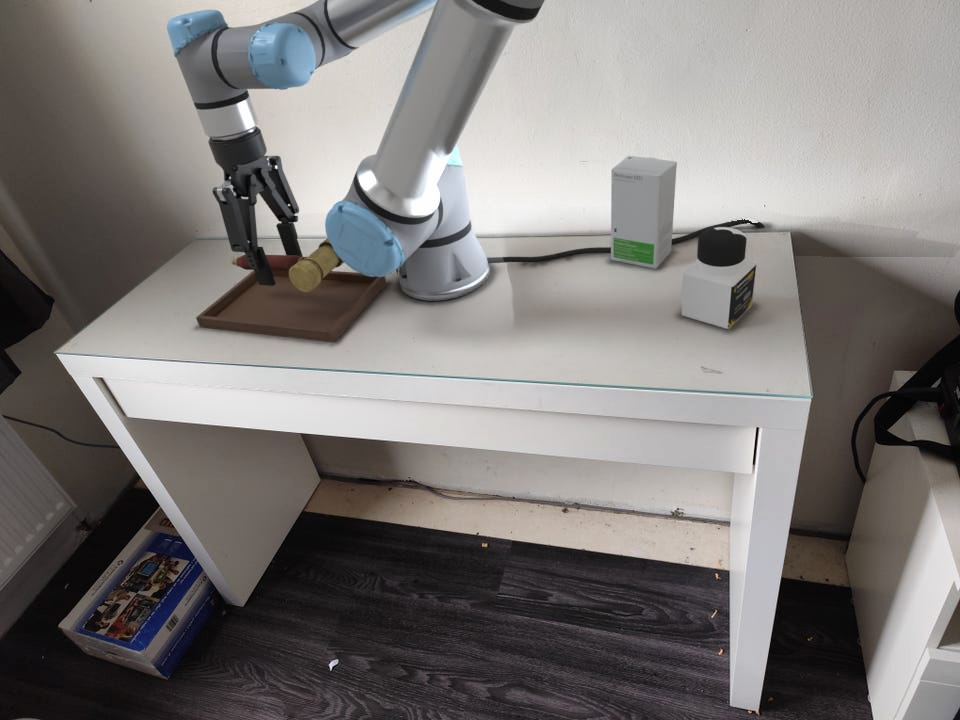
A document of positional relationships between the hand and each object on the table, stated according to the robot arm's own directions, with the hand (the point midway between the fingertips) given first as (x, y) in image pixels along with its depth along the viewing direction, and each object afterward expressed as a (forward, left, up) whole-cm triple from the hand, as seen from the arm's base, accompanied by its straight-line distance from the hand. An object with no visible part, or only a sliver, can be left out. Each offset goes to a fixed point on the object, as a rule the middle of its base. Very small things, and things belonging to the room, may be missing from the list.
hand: (282, 271), depth 110 cm
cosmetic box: (-54, -23, -7) cm, 59 cm away
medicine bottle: (-67, -8, -7) cm, 68 cm away
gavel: (0, 0, 0) cm, 0 cm away
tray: (0, 0, -7) cm, 7 cm away
